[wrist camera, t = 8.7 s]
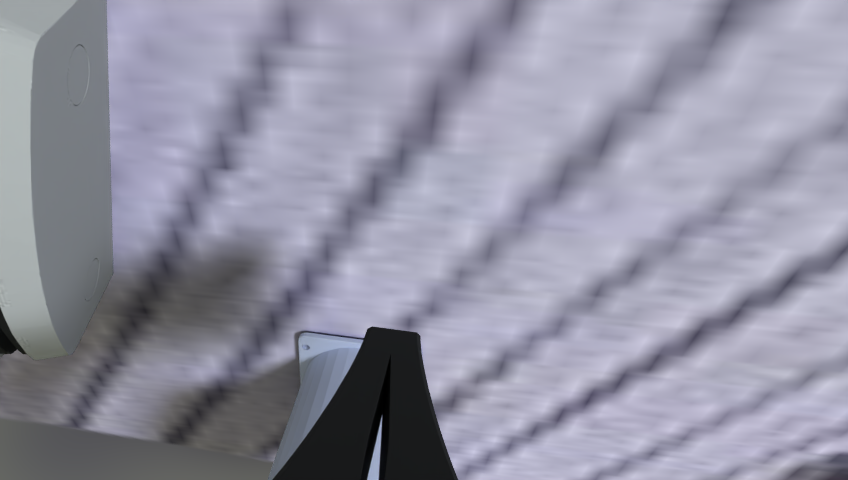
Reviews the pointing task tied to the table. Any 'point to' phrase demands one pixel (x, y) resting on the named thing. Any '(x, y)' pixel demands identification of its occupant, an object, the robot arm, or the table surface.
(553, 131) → the table surface
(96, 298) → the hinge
